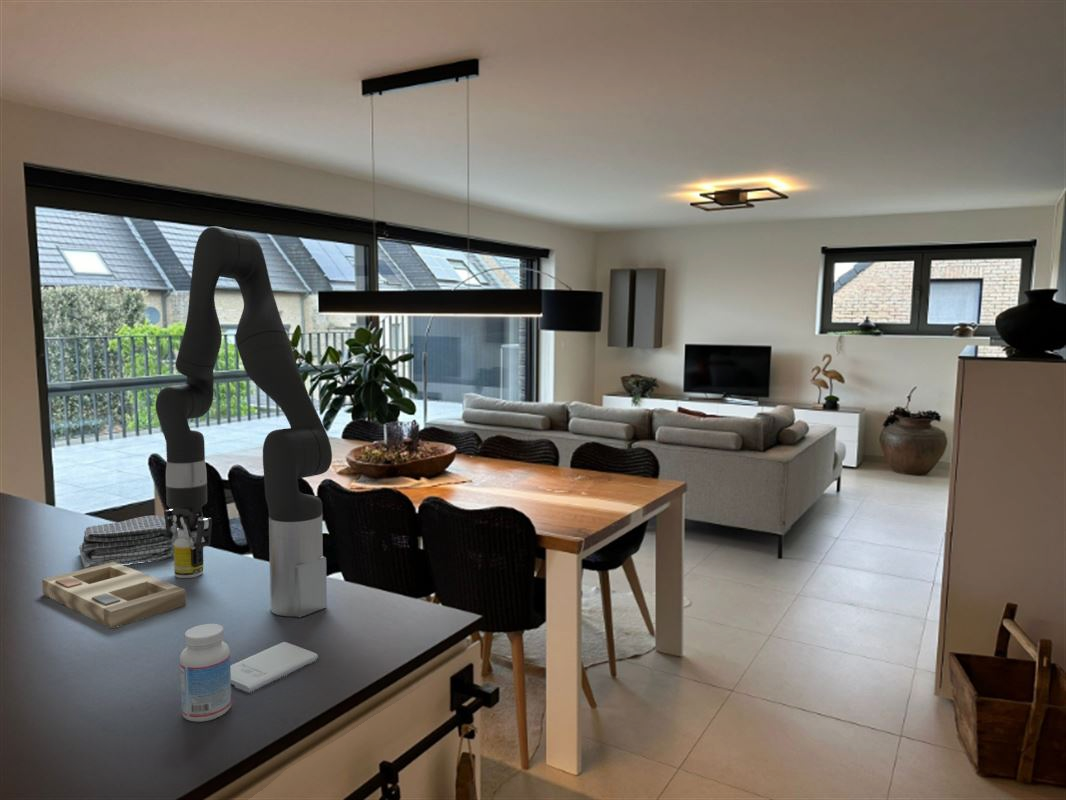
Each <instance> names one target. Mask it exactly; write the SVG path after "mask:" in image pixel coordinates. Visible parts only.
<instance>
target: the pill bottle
mask: <svg viewBox="0 0 1066 800" xmlns="http://www.w3.org/2000/svg"><path fill="white" fill-rule="evenodd" d="M224 637H225V635H224V627H223V625H220V624H217V623H205V624H199V625H196V626H193V627H190V628H188V630H186V631H185V633H184V644H185V646H186V647H185V648H184V649H183V650H182V651H181V653H180V656H179V668H180V669H179V675H180V696H181V697H180V698H181V700H180V702H181V714H182V716H183V718H184V719H185V720H188V721H190V722H196V723H198V722H199V723H200V722H208V721H212V720H215V719H217V717H218V718H219V717H221V716H222V715H225V714H226V713H227V712H228V711H229V710H230V708H231V707H232V703H233V701H232V685H231V671H230V665H231V650H230V646H229V644H227V643H226V642H225V641H224Z"/></svg>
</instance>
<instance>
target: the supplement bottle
mask: <svg viewBox="0 0 1066 800" xmlns="http://www.w3.org/2000/svg"><path fill="white" fill-rule="evenodd" d="M191 533H197V531H193V532H191ZM178 537H179V538H178V539H176V540H175V542H174V555H173V556H174V557H173V558H174V560H173V562H174V563H173V565H174V572H173V573H174V576H175V578H179V579H192V578H196V577H199V576H200V575H202V574H203V573H204V564H203V565H201V566H198V567H193V566H191V546H190V542H189V539H187V538H186V536H185V532H184V530H183V529H180V528H178ZM194 540H195V543H196V537H194Z"/></svg>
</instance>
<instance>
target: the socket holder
mask: <svg viewBox="0 0 1066 800" xmlns="http://www.w3.org/2000/svg"><path fill="white" fill-rule="evenodd" d="M41 581H42V595H43V594H44V595H46V596H48V597H50V598H49V599H51V598H52V599H51V600H53V599H54V600H53V601H55V600H56V601H55V602H57V601H58V602H57V603H59V602H60V603H59V604H61V603H62V604H61V605H63V604H64V605H63V606H65V605H66V606H65V607H67V606H68V607H67V608H69V609H71V610H72V611H75V612H76V613H79V614H81V615H83V616H85V617H87V618H89V619H91V618H92V619H91V620H93V621H96V622H97V623H99V624H101V625H103V626H105V625H106V626H105V627H107V626H108V627H107V628H109V627H110V628H109V629H111V628H113V629H115V628H114V627H116V628H118V627H117V626H119V627H121V626H120V625H122V626H125V625H124V624H126V625H128V624H127V623H129V624H131V622H132V623H134V622H133V621H135V622H137V621H136V620H138V621H141V620H144V619H147V618H149V617H150V616H151V617H154V616H156V614H157V615H160V614H163V613H166V612H169V611H172V609H173V610H175V608H176V609H178V607H179V608H181V607H185V606H186V604H187V603H186V588H182V587H180V586H178V585H176V584H172V583H169V582H167V581H165V580H162V579H159V578H156V577H154V576H152V575H149V574H147V573H144V572H141V571H139V570H136V569H134V568H131V567H128V566H124V565H121V564H119V563H116V562H111V563H107V564H103V565H99V566H95V567H91V568H87V569H85V568H83V569H78V570H74V571H71V572H67V573H63V574H58V575H54V576H49V577H46V578H43V579H42V580H41ZM44 595H43V596H44ZM46 596H45V597H46ZM48 597H47V598H48ZM159 613H160V614H159ZM153 615H154V616H153ZM146 617H147V618H146ZM143 618H144V619H143ZM140 619H141V620H140Z"/></svg>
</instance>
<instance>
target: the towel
mask: <svg viewBox="0 0 1066 800" xmlns="http://www.w3.org/2000/svg"><path fill="white" fill-rule="evenodd" d="M171 530H172V527H171ZM78 549H79V553H80V557H81V562H82V564H83V567H84V569H87V568H91V567H95V566H99V565H103V564H107V563H111V562H116V563H119V564H129V563H138V562H147V563H149V562H148V561H154V562H158V561H157V560H161V561H163V560H167V559H168V558H171V557H173V556H174V543H173V542H172V539H168V538H167V532H166V524H165V517H164V516H161V515H154V514H153V515H144V516H139V517H134V518H130V519H126V520H122V521H117V522H112V523H106V524H104V523H103V524H99V525H92V526H88V527H86V529H85V531H84V535H83V542H82V543H81V544H80V545H79V547H78Z"/></svg>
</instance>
